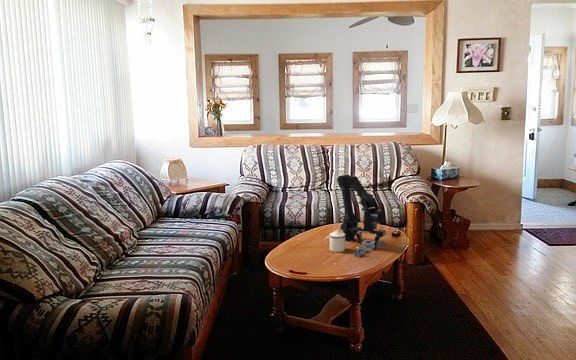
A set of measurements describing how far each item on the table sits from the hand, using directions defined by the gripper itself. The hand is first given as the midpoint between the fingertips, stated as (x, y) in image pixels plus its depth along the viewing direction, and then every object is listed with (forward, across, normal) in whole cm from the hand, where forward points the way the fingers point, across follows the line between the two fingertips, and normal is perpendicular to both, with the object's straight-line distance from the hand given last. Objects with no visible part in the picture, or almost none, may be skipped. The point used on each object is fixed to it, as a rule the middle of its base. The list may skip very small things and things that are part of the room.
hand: (368, 245), depth 279 cm
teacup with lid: (+1, +16, +11) cm, 19 cm away
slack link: (+1, 0, +7) cm, 7 cm away
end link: (+1, 0, 0) cm, 1 cm away
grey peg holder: (+1, -2, -10) cm, 10 cm away
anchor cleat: (+1, 0, +15) cm, 15 cm away
